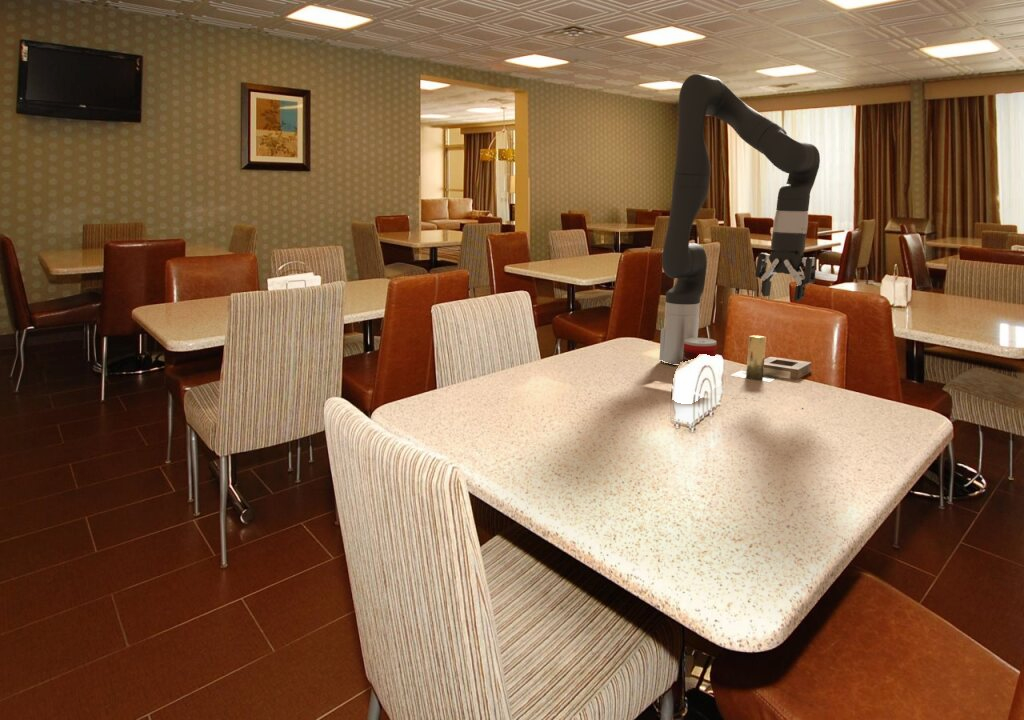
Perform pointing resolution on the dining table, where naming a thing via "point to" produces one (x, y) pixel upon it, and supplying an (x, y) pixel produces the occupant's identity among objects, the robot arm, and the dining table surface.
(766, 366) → the grey square socket block
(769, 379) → the white flat slab
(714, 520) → the dining table surface
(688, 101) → the robot arm
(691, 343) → the canned food
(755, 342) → the cylinder
